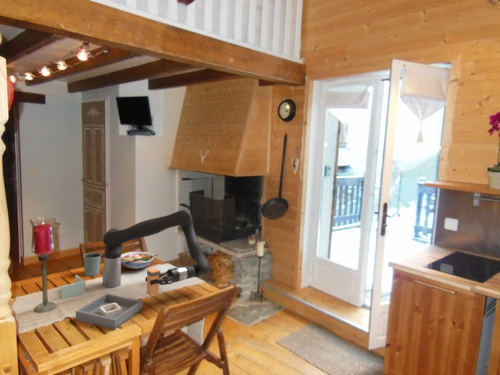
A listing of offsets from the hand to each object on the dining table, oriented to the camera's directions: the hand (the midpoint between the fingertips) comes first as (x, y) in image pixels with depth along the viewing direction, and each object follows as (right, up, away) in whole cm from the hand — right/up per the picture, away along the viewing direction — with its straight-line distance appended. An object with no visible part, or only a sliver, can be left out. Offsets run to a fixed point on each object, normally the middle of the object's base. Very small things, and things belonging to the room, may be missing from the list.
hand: (148, 281), depth 189 cm
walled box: (-17, -14, -7) cm, 23 cm away
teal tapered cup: (-47, -6, +42) cm, 64 cm away
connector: (+1, -7, +3) cm, 8 cm away
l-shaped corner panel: (-47, -11, +14) cm, 50 cm away
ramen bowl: (-24, -5, +57) cm, 62 cm away
